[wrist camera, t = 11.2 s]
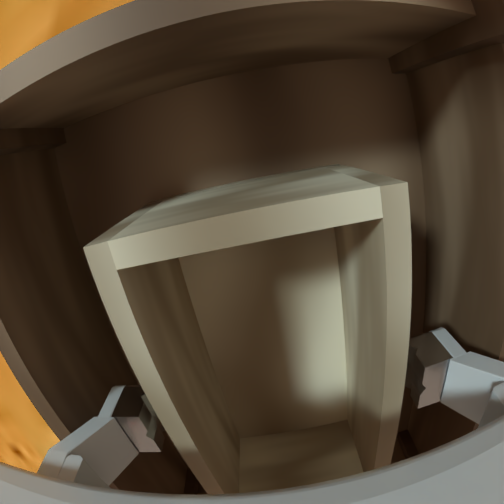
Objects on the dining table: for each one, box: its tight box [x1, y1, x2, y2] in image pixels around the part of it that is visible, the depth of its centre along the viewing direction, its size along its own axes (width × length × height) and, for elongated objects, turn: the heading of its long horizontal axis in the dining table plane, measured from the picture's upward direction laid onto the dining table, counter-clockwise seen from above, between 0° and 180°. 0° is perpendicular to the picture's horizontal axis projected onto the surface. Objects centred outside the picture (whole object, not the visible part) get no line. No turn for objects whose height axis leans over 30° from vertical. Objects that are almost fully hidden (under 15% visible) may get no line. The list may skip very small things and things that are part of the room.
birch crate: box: [83, 164, 412, 494], centre depth 10 cm, size 6×12×5 cm, turn 11°
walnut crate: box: [0, 0, 504, 495], centre depth 10 cm, size 15×21×7 cm
